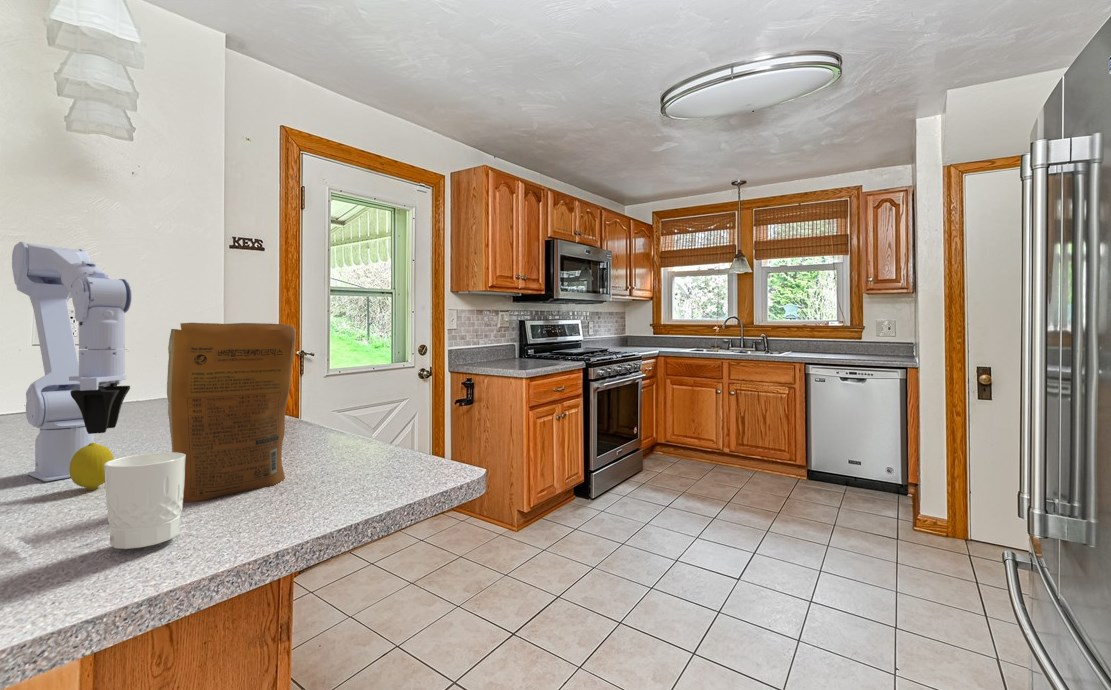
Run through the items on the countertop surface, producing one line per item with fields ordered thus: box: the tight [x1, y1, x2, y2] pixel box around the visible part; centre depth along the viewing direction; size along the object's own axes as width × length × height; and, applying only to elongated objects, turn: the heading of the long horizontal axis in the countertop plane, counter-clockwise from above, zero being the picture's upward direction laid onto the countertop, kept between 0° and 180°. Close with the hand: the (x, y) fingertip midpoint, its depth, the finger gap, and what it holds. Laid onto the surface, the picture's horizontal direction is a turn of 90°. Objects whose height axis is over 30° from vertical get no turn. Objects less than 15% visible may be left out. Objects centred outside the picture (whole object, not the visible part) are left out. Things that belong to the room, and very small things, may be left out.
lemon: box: [69, 442, 115, 491], centre depth 83 cm, size 6×6×8 cm
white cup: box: [104, 451, 186, 550], centre depth 63 cm, size 8×8×10 cm
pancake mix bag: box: [166, 322, 297, 503], centre depth 82 cm, size 7×19×28 cm, turn 140°
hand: (102, 430), depth 84 cm, fingers open, 5 cm apart
